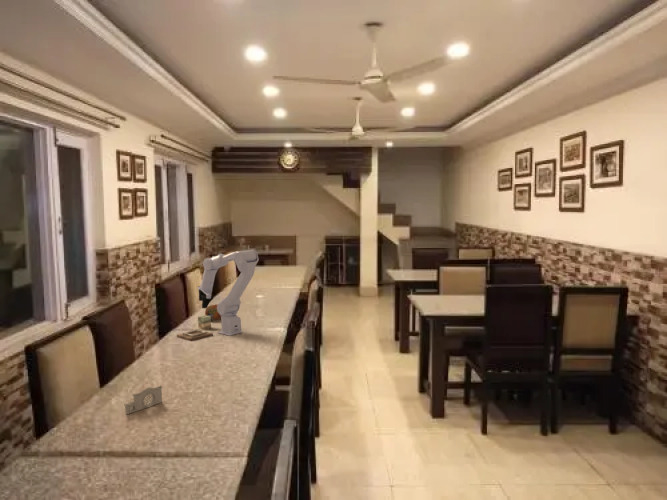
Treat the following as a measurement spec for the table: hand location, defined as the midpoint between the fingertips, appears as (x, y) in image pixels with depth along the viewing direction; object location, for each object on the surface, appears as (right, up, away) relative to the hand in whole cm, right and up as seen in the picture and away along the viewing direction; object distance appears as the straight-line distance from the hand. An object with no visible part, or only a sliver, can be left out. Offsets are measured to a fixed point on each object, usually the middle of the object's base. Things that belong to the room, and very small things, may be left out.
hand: (202, 304), depth 251 cm
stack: (+1, -12, 0) cm, 12 cm away
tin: (+3, -10, +20) cm, 23 cm away
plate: (0, -13, -16) cm, 21 cm away
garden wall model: (+8, -21, -99) cm, 102 cm away
